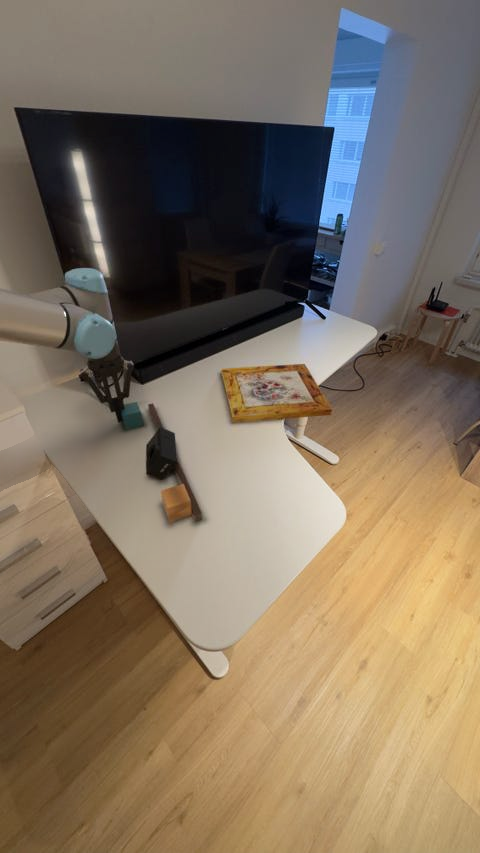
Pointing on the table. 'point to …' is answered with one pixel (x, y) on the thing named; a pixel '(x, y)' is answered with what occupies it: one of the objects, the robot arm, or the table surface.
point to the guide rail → (178, 470)
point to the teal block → (132, 415)
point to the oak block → (176, 502)
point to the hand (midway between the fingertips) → (119, 419)
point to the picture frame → (272, 393)
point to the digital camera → (161, 453)
